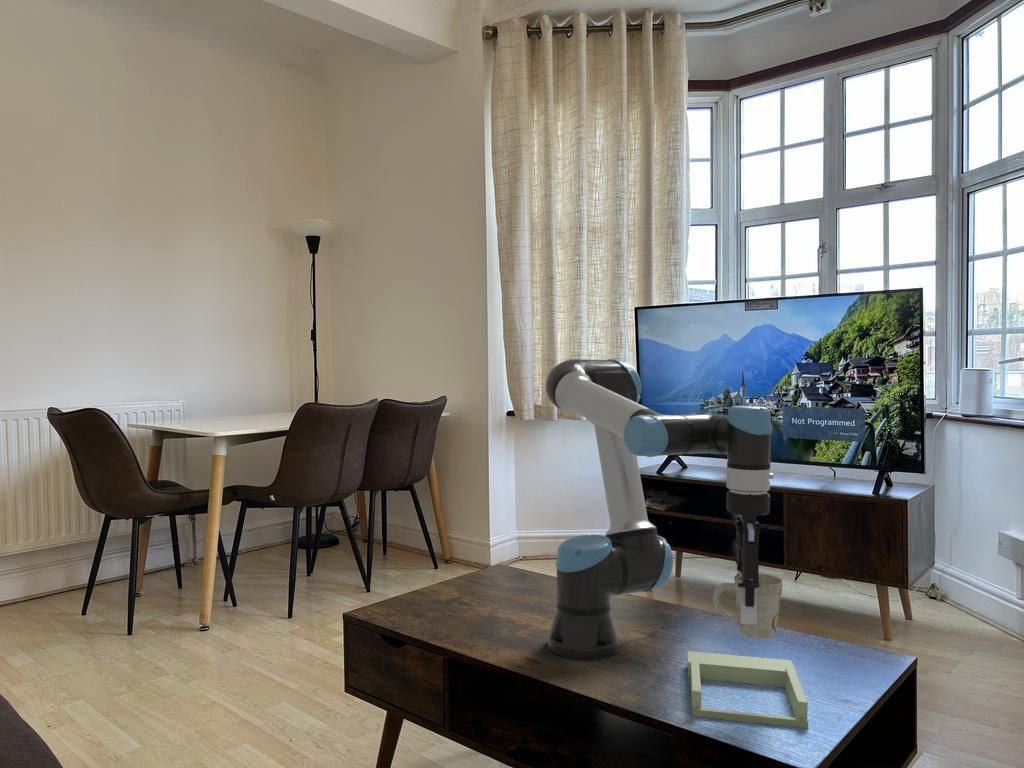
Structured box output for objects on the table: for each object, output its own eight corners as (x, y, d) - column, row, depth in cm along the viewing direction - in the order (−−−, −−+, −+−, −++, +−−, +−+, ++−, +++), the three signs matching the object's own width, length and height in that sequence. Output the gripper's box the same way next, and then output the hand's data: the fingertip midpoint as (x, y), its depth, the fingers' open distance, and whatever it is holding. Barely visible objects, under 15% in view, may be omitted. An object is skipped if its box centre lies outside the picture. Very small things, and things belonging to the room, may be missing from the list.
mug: (776, 645, 129) (776, 587, 129) (704, 631, 136) (705, 576, 136) (786, 631, 136) (787, 577, 136) (718, 619, 143) (719, 567, 143)
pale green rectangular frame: (689, 715, 129) (689, 693, 129) (687, 665, 151) (687, 646, 151) (811, 728, 125) (811, 705, 125) (791, 675, 147) (791, 655, 147)
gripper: (777, 502, 124) (775, 637, 124) (763, 483, 144) (761, 599, 145) (730, 499, 125) (728, 633, 126) (723, 481, 146) (721, 596, 146)
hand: (746, 615), depth 135 cm, fingers closed on mug, 8 cm apart
